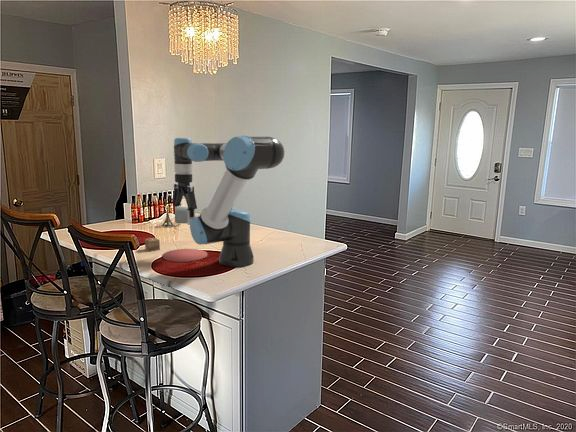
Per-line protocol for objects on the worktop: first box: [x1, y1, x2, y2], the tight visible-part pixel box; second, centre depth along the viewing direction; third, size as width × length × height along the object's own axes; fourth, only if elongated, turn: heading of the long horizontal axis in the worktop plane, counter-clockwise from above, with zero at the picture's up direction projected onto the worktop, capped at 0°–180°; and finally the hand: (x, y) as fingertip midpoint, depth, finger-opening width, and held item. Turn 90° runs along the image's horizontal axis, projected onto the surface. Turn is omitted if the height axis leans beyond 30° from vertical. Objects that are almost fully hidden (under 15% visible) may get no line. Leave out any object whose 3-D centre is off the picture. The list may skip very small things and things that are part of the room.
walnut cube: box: [144, 237, 161, 252], centre depth 209 cm, size 5×5×5 cm
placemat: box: [162, 248, 208, 263], centre depth 200 cm, size 20×20×1 cm
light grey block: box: [174, 206, 196, 225], centre depth 198 cm, size 11×8×8 cm
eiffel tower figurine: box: [160, 205, 181, 228], centre depth 261 cm, size 15×10×13 cm
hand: (184, 222), depth 197 cm, fingers closed on light grey block, 11 cm apart
